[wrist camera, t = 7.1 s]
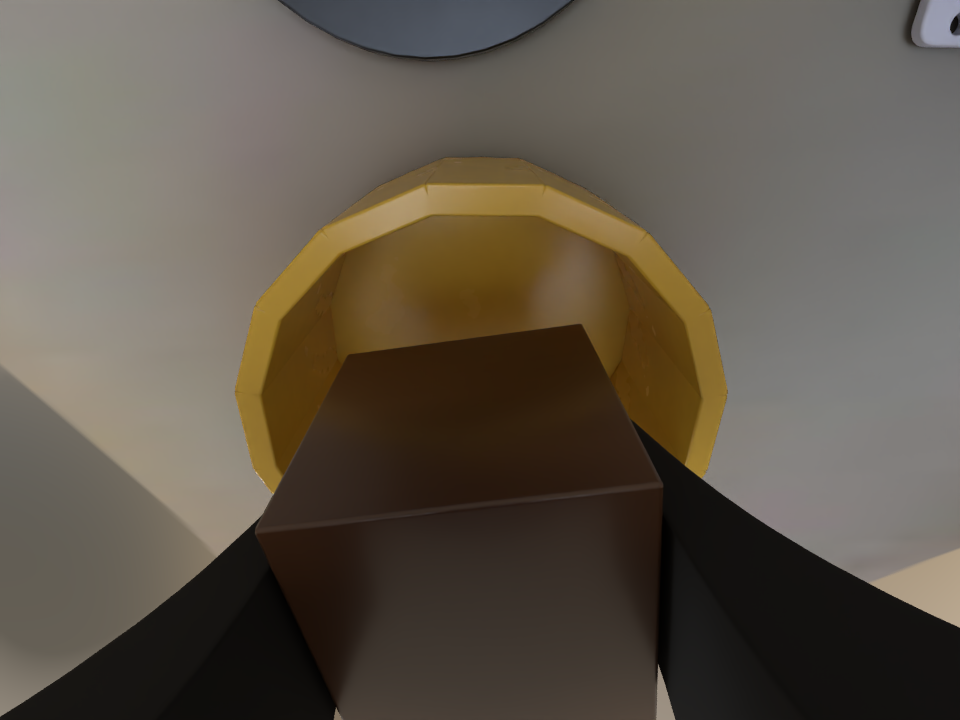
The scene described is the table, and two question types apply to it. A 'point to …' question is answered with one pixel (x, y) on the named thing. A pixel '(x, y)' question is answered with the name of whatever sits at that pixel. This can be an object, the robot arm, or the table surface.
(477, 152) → the table surface
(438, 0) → the lid
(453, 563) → the block
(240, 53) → the table surface
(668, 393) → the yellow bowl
